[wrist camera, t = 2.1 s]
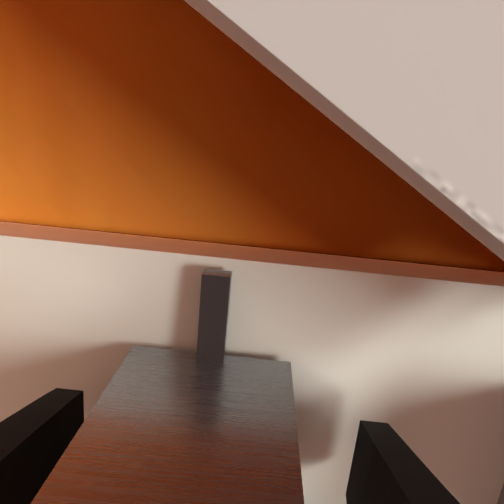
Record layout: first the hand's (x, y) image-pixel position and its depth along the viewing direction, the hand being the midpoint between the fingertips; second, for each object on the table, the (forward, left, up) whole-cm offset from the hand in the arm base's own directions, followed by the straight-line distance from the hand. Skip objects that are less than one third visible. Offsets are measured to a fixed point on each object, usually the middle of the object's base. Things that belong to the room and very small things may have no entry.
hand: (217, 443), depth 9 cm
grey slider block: (0, 0, -1) cm, 1 cm away
